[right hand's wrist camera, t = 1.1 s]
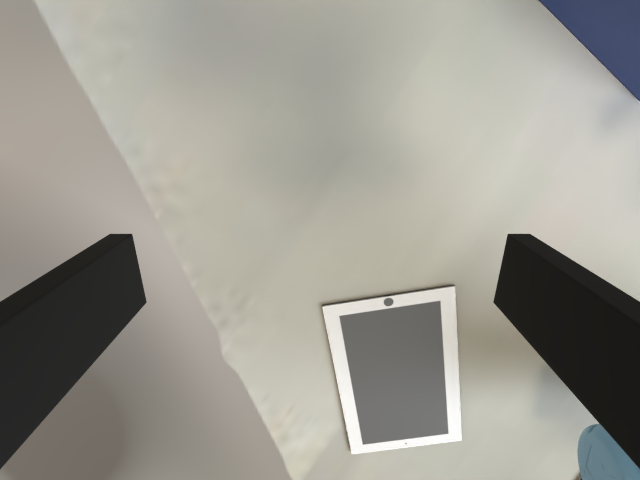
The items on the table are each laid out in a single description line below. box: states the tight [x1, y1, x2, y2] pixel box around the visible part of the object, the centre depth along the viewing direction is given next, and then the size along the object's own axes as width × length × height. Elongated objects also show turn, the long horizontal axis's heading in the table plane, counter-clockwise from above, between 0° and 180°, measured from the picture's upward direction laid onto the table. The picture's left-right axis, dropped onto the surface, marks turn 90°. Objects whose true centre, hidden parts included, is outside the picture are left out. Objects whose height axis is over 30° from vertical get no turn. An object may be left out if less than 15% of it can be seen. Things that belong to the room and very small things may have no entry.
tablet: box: [322, 285, 462, 454], centre depth 58 cm, size 32×20×1 cm, turn 10°
